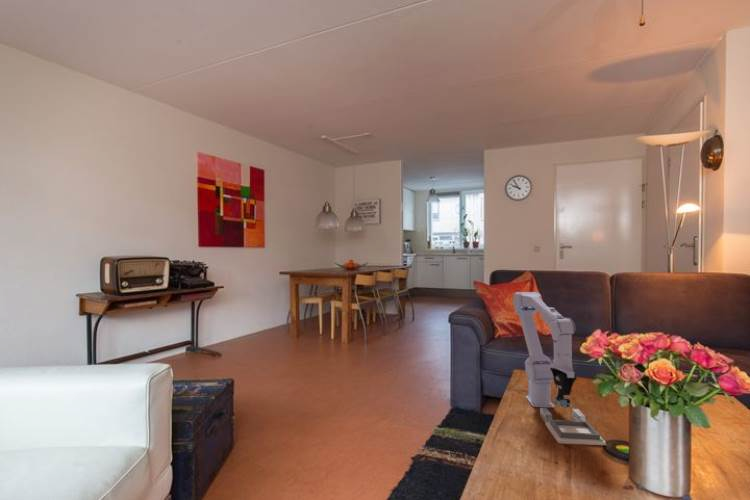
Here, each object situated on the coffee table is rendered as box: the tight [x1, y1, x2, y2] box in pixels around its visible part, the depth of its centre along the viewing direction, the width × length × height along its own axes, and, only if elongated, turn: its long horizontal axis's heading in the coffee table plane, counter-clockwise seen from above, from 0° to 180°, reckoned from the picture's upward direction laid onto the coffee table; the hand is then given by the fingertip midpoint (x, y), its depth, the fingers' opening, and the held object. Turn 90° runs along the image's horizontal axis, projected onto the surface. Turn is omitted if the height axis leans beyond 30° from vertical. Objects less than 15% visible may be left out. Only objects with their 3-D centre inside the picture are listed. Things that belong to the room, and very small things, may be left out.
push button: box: [552, 375, 573, 409], centre depth 133 cm, size 7×5×10 cm
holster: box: [539, 407, 586, 424], centre depth 135 cm, size 6×13×3 cm, turn 84°
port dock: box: [545, 419, 607, 446], centre depth 125 cm, size 12×14×2 cm
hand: (563, 391), depth 134 cm, fingers closed on push button, 5 cm apart
